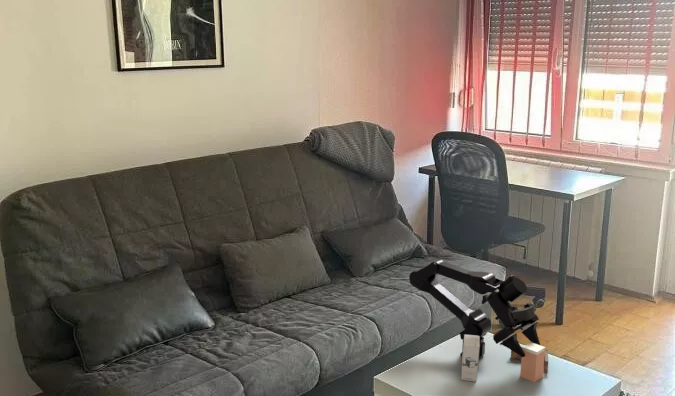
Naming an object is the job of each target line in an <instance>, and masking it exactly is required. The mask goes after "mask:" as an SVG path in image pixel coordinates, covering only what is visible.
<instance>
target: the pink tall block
mask: <svg viewBox="0 0 675 396" xmlns="http://www.w3.org/2000/svg"><path fill="white" fill-rule="evenodd" d="M521 347H522V349H523V351H524V353H525V355H526V356H525V357H522V359H520V375H519V376H520V378H522V379H525V380H528V381H531V382H534V383H535V382H537V381H538V380H540V379H541V378H543V377H544V357H545V350H546V347H545V346H543V345H541V344H540V345H538V344H535V343H532V342H531V341H530V342H527V344H525V345H523V346H521Z"/></svg>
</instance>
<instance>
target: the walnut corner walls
mask: <svg viewBox="0 0 675 396" xmlns="http://www.w3.org/2000/svg"><path fill="white" fill-rule="evenodd" d="M522 347H523V346H521V348H522ZM510 358H511V359H515V358H517V359H516V360H521V359H522V357H521V356H520V355H518V354H517V353H515V352H514V351H512V350H510ZM544 373H545V374H548V373H549V351H548V349H545V357H544V369H543V374H544Z"/></svg>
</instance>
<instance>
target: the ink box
mask: <svg viewBox="0 0 675 396" xmlns="http://www.w3.org/2000/svg"><path fill="white" fill-rule="evenodd" d="M462 346H463V355H462V356H461V357H462V358H461V372H460V373H461V376H460V377H461V380H462V381H467V382H468V381H469V382H477V381H478V379H477V377H478V370H479V369H478V368H479V361H480V359H479V348H480V336H477V335H465V334H464V343H463V342H462Z"/></svg>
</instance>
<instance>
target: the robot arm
mask: <svg viewBox="0 0 675 396" xmlns="http://www.w3.org/2000/svg"><path fill="white" fill-rule="evenodd" d="M436 275H441V276H442V277H446V278H448V279H450V280H451V279H452V280H454V281H457V282H459V283H462V284H465V285H466V286H467V287H469V289H470V290H471V291H474V292H475V293H477V294H479V295H482V300H481V305H484V304H487V303H488V305H489V306H490V308H491V309H492V311H493V312H494V314H495V315H496V316H495V317H494V319H495V320H496V321H500V323H501V324H502V326H503V328H501V329H500V330H498V331H497V332H495V333H494V334H493V336H492V340H493V341H494V343H495V344H499V346H503V347H505V348H507V349H509V350H510V351H511V350H512V351H514V352H515V353H517V354H518V355H520V356H521V357H525V356H526V355H525V353H524V351H523V349H522V348H521V347H522V346H521V345H520V344H521V343H519V341H518V334H517V331H519V330H521V334H523V336H524V337H525V338H527V340H529V341H530V342H532V343H535V344H538V345H541V342H540V339H539V336H538V332H537V327H538V324H539V320H540V318H539V317H538V315H537V314H536V313H535V312H536V311H537V308H536V306H534V304H533V303H532V302H527V303H525V304H524V305H523V307H521V308H519V307H517V306H516V305H513V304H511V303H513V302H515V301H516V300H518V299H520V297H522V296H524V295H525V294H527V292H528V288H527V285H526V283H525V282H524V281H523V280H522V279H521V278H519V277H516V276H515V274H511V275H510V276H508V278H507V279H506V280H503V279H502V278H499V277H496V276H495V275H494V273H491V272H486V271H473V270H469V269H467V268H464V267H461V266H457V265H455V264H452V263H449V262H447V261H444V260H443V259H436V260H434V261H432V262H430V263H429V264H428V265H426V266H424V267H420V268H418V269H416V270H413V271H411V272H410V273H409V277H408V279H409V283H410V285H411V286H412V287H414V288H416V289H417V290H418V291H420V292H424V293H427V294H429V295H430V296H431V297H432V298H434V299H435V300H436V301H438V302H439V304H441V305H442V306H443V307H444V308H446V310H448V311H449V312H450V313H452V315H454V316H455V317H456V318H457V319H458V320H459V321H460V323H461V325H462V327H463V330H462V331H461V332H459V337H460V339H461V340H462V344H463V343H464V334H465V335H477V336H480V348H479V360H480V359H482V357H483V356H484V355H485V351H486V342H484V341H485V338H484V337H485V336H486V335H487V334H488V332H489V333H490V331H491V330H492V328H493V327H492V326H493V325H492V321H491V319H490V318H489V315H488V314H486V313H485V312H483V310H482V309H480V308H476V309H475V310H473V309H470V308H469V307H468V306H467V305H466V304H465V303H464V302H462V301H461V300H460V299H458V298H457V297H456V296H455V295H454V294H453V293H451V292H450V291H449V290H448V289H446V287H444V286H443V285H441V283H440V282H439V281H438V278H437V276H436ZM497 290H498V291H497ZM488 293H489V294H488ZM461 348H462V349H461V352H460V356H461V357H462V355H463V345H462V347H461Z"/></svg>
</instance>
